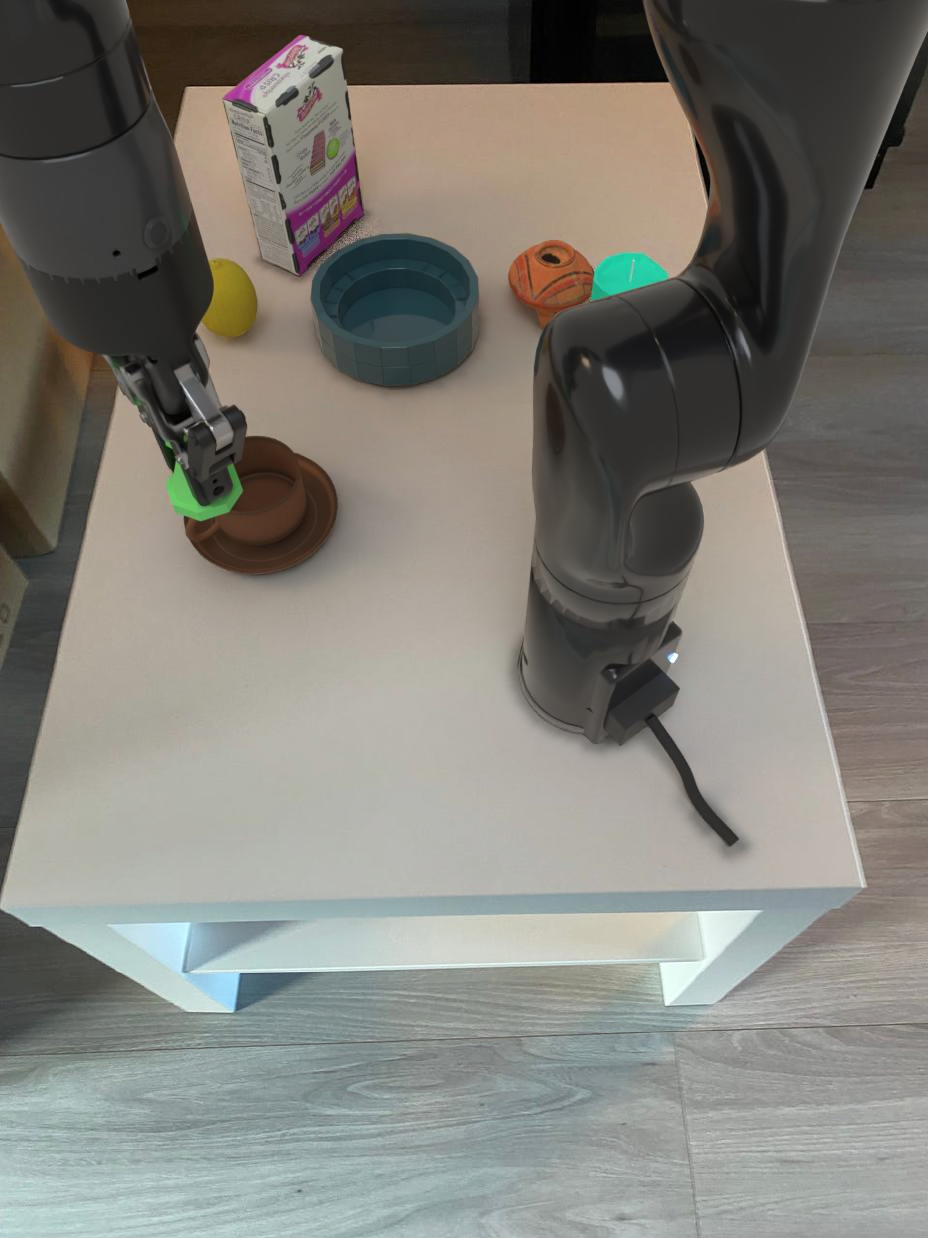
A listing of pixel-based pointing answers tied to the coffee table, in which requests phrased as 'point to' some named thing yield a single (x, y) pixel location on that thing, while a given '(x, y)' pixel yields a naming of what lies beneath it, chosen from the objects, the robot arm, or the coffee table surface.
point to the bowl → (396, 308)
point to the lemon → (230, 300)
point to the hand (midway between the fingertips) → (201, 479)
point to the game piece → (187, 503)
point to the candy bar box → (297, 152)
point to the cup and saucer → (269, 512)
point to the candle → (625, 274)
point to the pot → (551, 278)
